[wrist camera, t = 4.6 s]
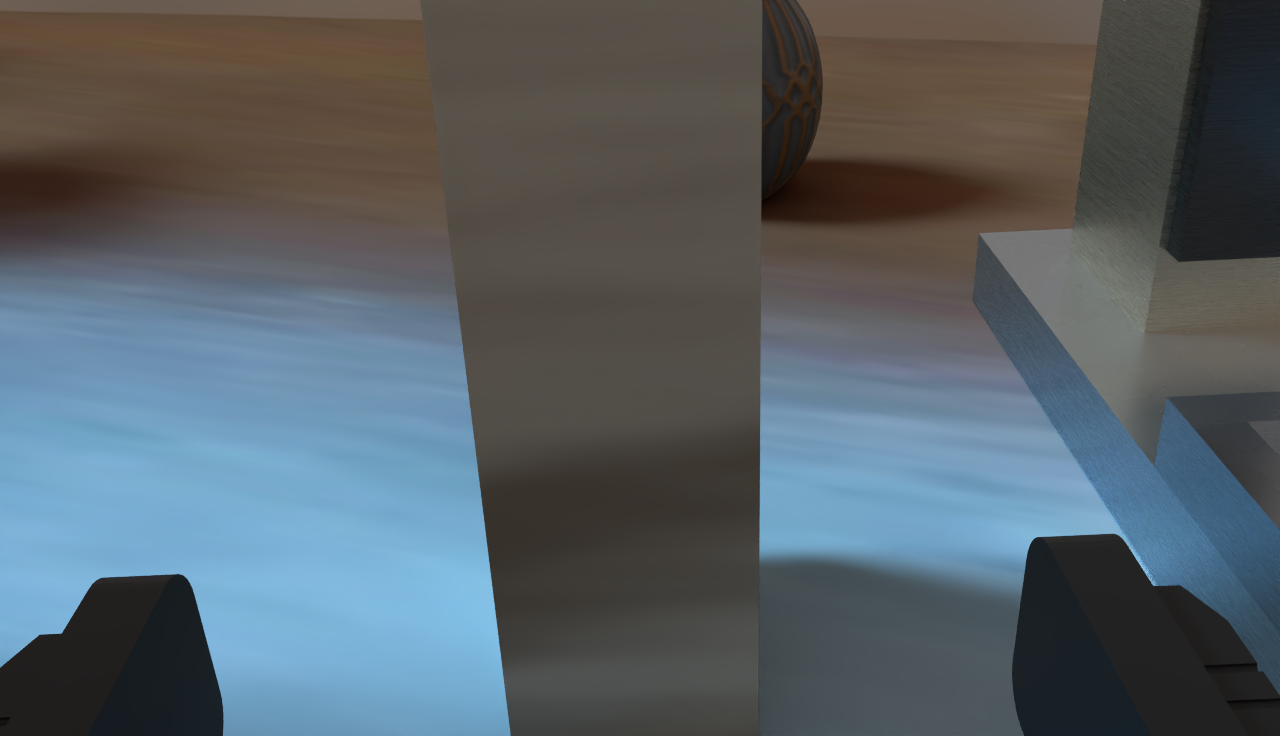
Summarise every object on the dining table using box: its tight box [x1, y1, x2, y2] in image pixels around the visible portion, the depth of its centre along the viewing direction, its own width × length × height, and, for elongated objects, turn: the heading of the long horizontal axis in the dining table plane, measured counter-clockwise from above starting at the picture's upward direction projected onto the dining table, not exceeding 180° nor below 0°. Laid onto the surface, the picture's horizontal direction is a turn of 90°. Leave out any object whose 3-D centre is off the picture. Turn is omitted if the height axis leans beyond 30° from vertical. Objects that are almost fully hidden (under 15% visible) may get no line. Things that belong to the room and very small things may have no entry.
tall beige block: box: [420, 0, 762, 736], centre depth 19 cm, size 6×4×12 cm
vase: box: [761, 0, 823, 200], centre depth 41 cm, size 7×7×9 cm
